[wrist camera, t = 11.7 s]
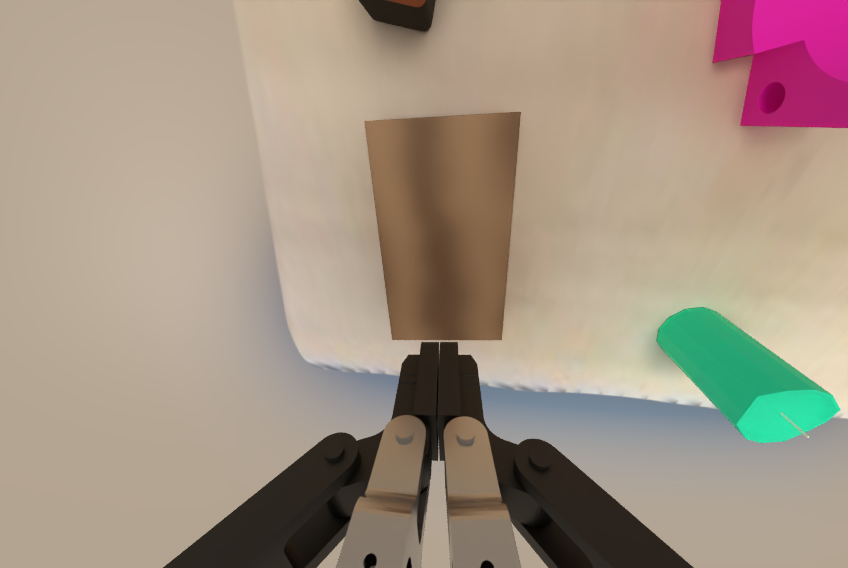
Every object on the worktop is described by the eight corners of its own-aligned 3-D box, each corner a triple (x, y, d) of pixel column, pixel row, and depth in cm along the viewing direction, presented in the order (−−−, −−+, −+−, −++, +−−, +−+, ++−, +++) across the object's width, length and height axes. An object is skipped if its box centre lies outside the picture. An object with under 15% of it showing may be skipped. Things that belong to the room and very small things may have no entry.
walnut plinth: (507, 113, 24) (520, 111, 19) (494, 309, 32) (501, 340, 28) (379, 120, 24) (364, 121, 20) (399, 310, 33) (392, 339, 29)
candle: (720, 298, 30) (869, 397, 19) (723, 343, 32) (858, 453, 22) (652, 319, 31) (756, 420, 21) (660, 360, 34) (757, 470, 23)
